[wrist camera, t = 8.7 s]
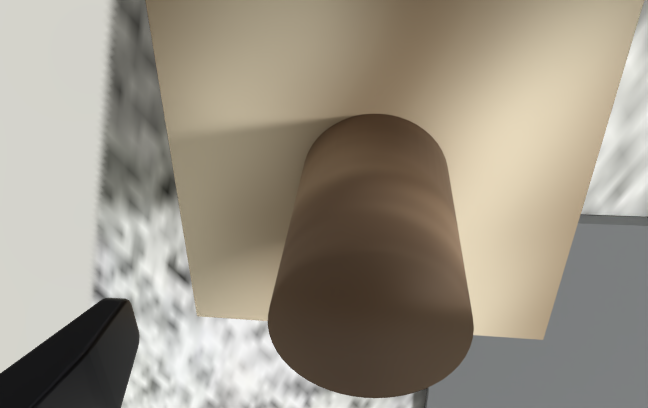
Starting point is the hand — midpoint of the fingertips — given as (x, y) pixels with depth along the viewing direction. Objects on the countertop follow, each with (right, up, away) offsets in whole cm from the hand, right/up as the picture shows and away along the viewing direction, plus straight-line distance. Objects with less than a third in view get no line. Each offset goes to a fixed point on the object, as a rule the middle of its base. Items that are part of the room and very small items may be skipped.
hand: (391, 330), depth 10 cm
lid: (0, +3, +5) cm, 6 cm away
